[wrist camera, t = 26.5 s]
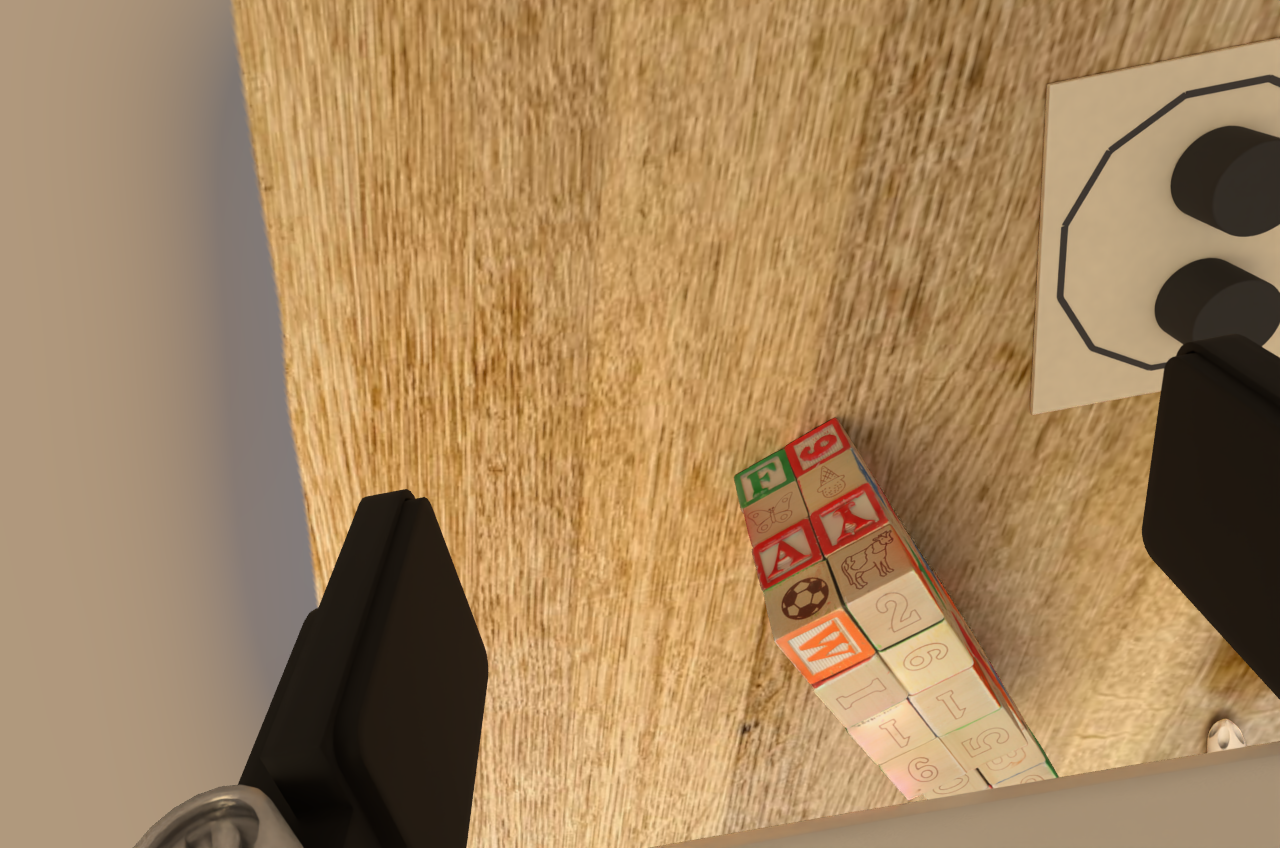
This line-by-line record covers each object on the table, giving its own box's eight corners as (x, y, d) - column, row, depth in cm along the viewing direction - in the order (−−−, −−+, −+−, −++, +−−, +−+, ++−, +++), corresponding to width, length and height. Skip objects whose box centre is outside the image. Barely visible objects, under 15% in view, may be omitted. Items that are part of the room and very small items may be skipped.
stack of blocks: (994, 662, 53) (1099, 848, 42) (902, 707, 54) (980, 897, 43) (834, 413, 43) (917, 571, 32) (728, 475, 45) (773, 645, 34)
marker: (1199, 710, 56) (1223, 740, 54) (1232, 702, 56) (1257, 731, 54) (1201, 867, 64) (1221, 897, 62) (1230, 860, 64) (1251, 890, 62)
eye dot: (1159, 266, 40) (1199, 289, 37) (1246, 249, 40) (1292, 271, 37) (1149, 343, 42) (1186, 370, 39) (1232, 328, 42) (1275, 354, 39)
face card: (1046, 84, 36) (1050, 85, 36) (1413, 10, 35) (1420, 11, 35) (1029, 412, 44) (1032, 415, 43) (1328, 357, 43) (1333, 360, 43)
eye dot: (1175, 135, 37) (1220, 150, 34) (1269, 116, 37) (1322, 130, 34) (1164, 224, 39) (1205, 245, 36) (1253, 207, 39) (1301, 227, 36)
